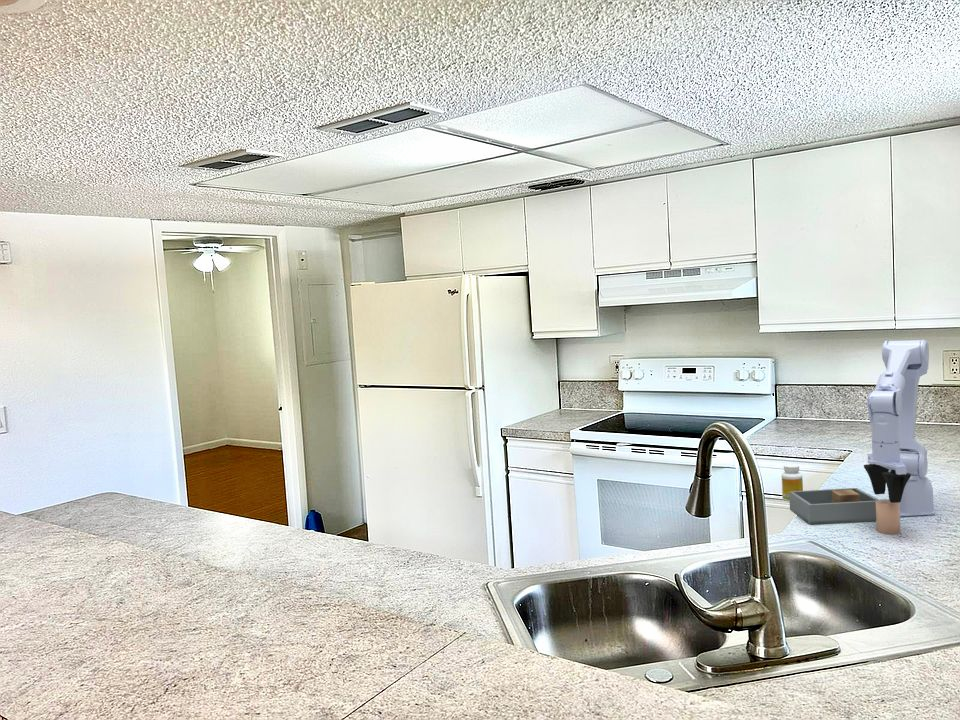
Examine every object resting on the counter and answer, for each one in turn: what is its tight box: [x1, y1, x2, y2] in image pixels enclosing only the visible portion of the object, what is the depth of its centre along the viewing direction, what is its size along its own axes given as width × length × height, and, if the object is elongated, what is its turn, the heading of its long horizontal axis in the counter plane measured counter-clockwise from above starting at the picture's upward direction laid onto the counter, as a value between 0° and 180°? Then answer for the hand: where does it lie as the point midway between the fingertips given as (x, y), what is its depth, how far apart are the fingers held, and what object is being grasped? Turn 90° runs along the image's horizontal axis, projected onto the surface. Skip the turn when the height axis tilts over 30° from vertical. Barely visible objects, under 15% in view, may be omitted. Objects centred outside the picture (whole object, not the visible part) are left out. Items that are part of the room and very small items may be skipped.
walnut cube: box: [831, 490, 860, 503], centre depth 193 cm, size 5×5×5 cm
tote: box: [789, 487, 880, 526], centre depth 193 cm, size 18×14×5 cm
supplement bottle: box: [781, 463, 804, 503], centre depth 210 cm, size 5×5×10 cm
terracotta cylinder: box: [875, 498, 901, 535], centre depth 179 cm, size 5×5×7 cm
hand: (887, 498), depth 178 cm, fingers open, 7 cm apart
